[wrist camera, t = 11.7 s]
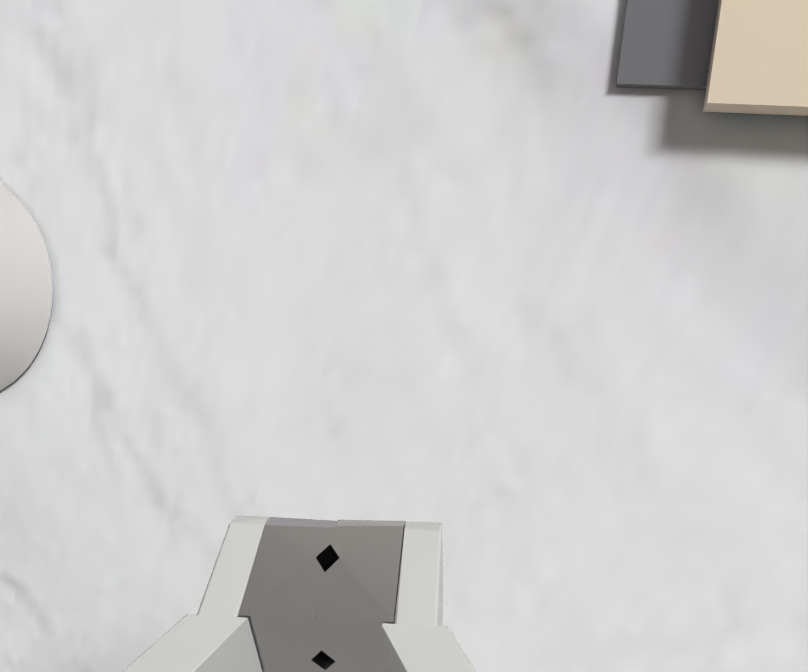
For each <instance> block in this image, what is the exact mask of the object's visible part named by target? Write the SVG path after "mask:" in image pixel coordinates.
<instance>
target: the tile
mask: <svg viewBox="0 0 808 672" xmlns="http://www.w3.org/2000/svg"><path fill="white" fill-rule="evenodd" d="M703 111H704V112H728V113H752V114H776V115H800V116H808V0H719V3H718V10H717V17H716V24H715V31H714V38H713V45H712V52H711V59H710V66H709V73H708V80H707V87H706V94H705V101H704V108H703Z"/></svg>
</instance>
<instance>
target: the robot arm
mask: <svg viewBox="0 0 808 672" xmlns="http://www.w3.org/2000/svg"><path fill="white" fill-rule="evenodd" d="M52 296H53V284H52V272H51V265H50V260H49V256H48V252H47V248H46V245H45V242H44V240H43V237H42V235H41V232H40V230H39V228H38V226H37V224H36V222H35V221H34V219H33V217H32V216H31V214H30V213H29V211H28V210H27V209H26V207H25V206H24V205H23V204H22V202H21V201H20V200H19V199H18V198H17V197H16V196H15V195H14V194H13V193H12V192H11V191H10V190H9V189H8V188H7V187H6V186H5V185H4V184H3V183H2V182H1V181H0V390H2V389H4V388H5V387H7V386H8V385H10V384H11V383H13V382H14V381H15V380H16V379H17V378H18V377H19V376H20V375H21V374H22V373H23V372H24V371H25V370H26V369H27V368H28V366H29V365H30V364H31V362H32V361H33V359H34V358H35V356H36V354H37V353H38V351H39V349H40V347H41V345H42V342H43V340H44V337H45V334H46V331H47V328H48V324H49V320H50V315H51V308H52ZM123 672H476V671H475V669H474V668H473V666H472V665H471V663H470V661H469V660H468V658H467V657H466V655H465V653H464V652H463V650H462V649H461V647H460V645H459V644H458V642H457V641H456V639H455V637H454V636H453V634H452V632H451V631H450V629H449V628H448V627H447V626H443V547H442V523H432V522H406V521H374V520H338V521H329V520H312V519H295V518H278V517H253V516H235V518H234V519H233V520H232V522H231V523H230V524H229V526H228V529H227V532H226V535H225V537H224V540H223V543H222V546H221V549H220V551H219V554H218V557H217V560H216V563H215V565H214V568H213V571H212V574H211V577H210V579H209V582H208V585H207V588H206V591H205V594H204V596H203V599H202V602H201V605H200V608H199V610H198V613H197V615H186V616H185V617H183V618H182V619H181V620H180V621H179V622H178V623H177V624H176V625H175V626H173V627H172V628H171V629H170V630H169V631H168V632H167V633H166V634H164V635H163V636H162V637H161V638H160V639H159V640H158V641H157V642H155V643H154V644H153V645H152V646H151V647H150V648H149V649H148V650H146V651H145V652H144V653H143V654H142V655H141V656H140V657H139V658H138V659H136V660H135V661H134V662H133V663H132V664H131V665H130V666H129V667H127V668H126V669H125V670H124V671H123Z"/></svg>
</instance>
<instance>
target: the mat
mask: <svg viewBox="0 0 808 672" xmlns="http://www.w3.org/2000/svg"><path fill="white" fill-rule="evenodd" d="M718 3H719V0H627V7H626V15H625V22H624V30H623V38H622V45H621V53H620V61H619V68H618V76H617V83H616V86H617V87H647V88H677V89H706V87H707V80H708V73H709V66H710V59H711V52H712V45H713V38H714V31H715V24H716V17H717V10H718Z"/></svg>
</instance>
